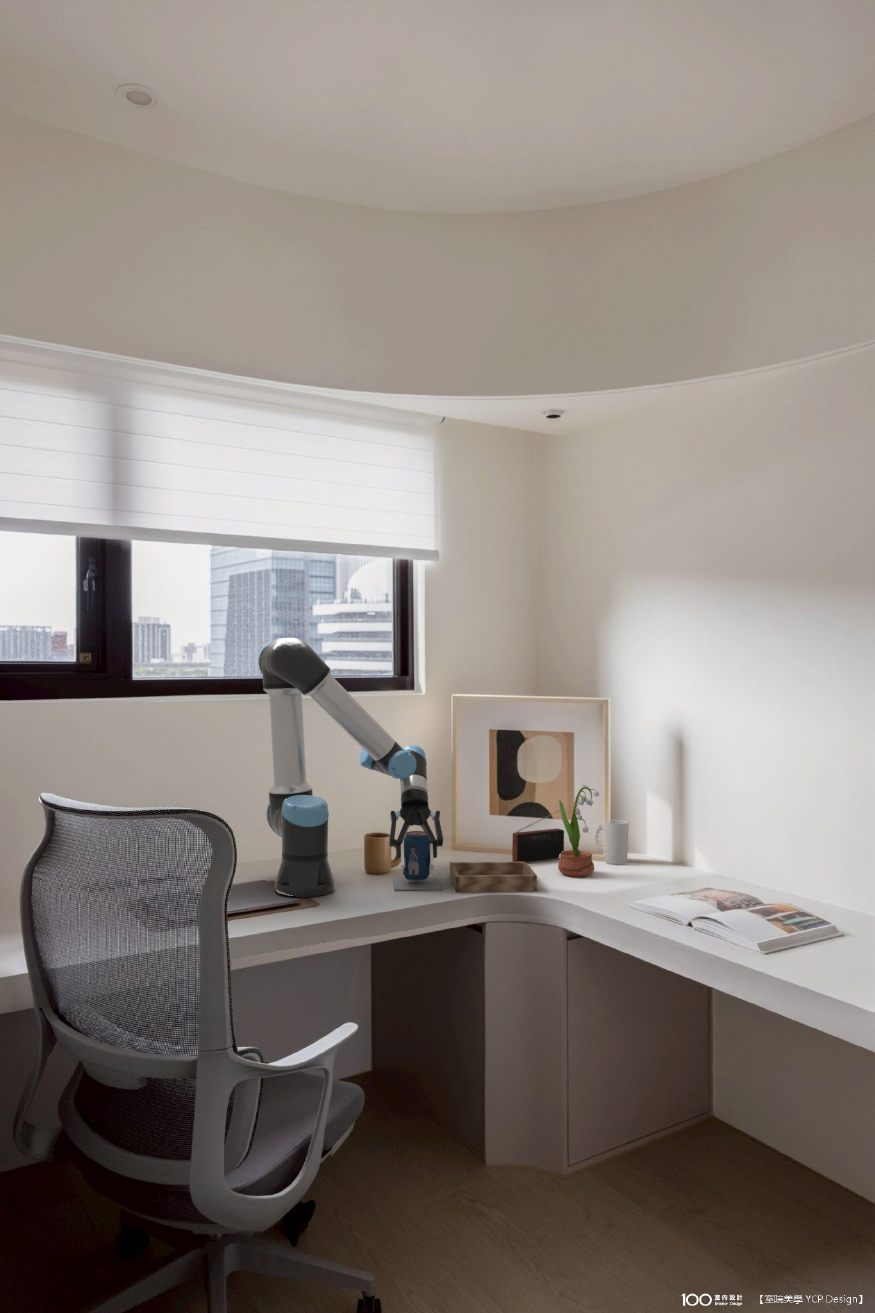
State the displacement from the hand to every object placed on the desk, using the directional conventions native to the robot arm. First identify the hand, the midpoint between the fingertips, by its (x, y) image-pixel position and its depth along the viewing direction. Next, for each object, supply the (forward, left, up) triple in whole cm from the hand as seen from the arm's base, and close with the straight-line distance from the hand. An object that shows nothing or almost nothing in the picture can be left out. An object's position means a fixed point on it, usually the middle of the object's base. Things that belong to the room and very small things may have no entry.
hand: (417, 867), depth 236 cm
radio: (+39, +32, -6) cm, 51 cm away
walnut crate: (+20, +4, -5) cm, 21 cm away
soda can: (0, +4, -4) cm, 5 cm away
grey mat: (0, +4, -5) cm, 6 cm away
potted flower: (+46, +14, -6) cm, 48 cm away
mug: (+59, +28, -6) cm, 65 cm away
